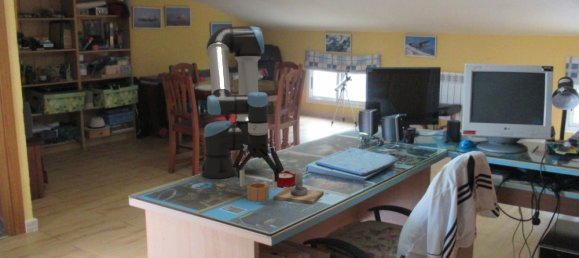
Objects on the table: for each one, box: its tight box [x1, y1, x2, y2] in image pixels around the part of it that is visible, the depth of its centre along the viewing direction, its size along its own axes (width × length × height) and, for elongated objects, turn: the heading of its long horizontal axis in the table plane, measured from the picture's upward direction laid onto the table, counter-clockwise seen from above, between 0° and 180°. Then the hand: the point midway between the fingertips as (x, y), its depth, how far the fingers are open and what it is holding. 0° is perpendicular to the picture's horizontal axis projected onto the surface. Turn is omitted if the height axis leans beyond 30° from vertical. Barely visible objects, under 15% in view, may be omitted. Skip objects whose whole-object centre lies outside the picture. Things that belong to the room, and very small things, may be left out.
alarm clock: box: [267, 170, 297, 188], centre depth 243 cm, size 10×6×15 cm
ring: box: [246, 182, 270, 202], centre depth 222 cm, size 8×8×5 cm
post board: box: [273, 172, 325, 205], centre depth 224 cm, size 16×13×9 cm
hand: (258, 187), depth 221 cm, fingers open, 13 cm apart
